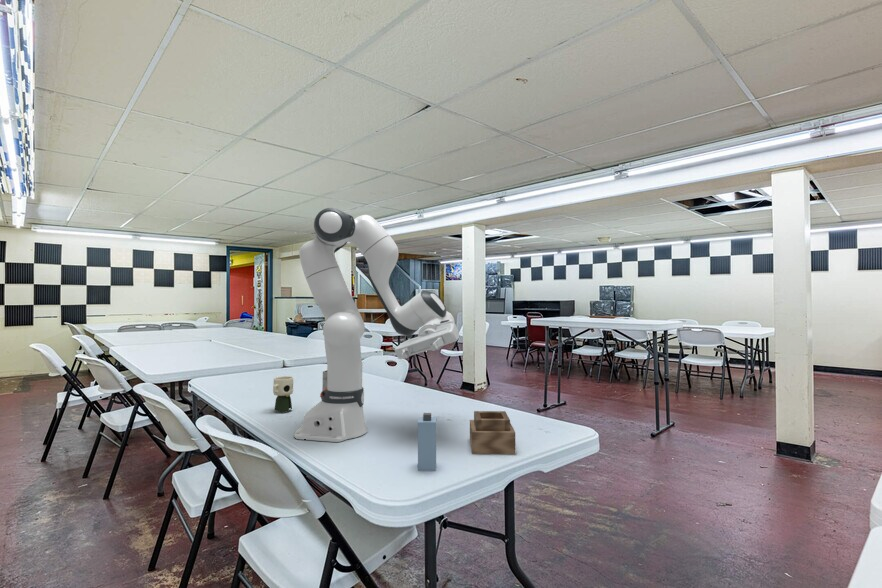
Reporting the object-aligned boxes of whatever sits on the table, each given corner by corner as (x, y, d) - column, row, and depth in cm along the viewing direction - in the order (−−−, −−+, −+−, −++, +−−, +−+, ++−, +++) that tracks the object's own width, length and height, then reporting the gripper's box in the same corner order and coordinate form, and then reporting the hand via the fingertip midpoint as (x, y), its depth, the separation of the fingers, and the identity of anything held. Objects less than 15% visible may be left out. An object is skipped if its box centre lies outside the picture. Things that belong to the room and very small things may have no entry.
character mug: (281, 416, 152) (281, 380, 152) (265, 414, 154) (265, 379, 154) (300, 408, 162) (300, 375, 162) (284, 407, 164) (285, 374, 165)
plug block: (417, 470, 103) (417, 416, 103) (419, 463, 107) (419, 411, 108) (435, 470, 103) (435, 416, 103) (436, 463, 107) (436, 411, 108)
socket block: (472, 454, 114) (472, 421, 114) (469, 439, 126) (469, 410, 126) (515, 454, 114) (515, 421, 114) (508, 439, 126) (508, 410, 126)
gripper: (400, 336, 134) (384, 351, 121) (457, 317, 127) (445, 331, 114) (408, 353, 135) (392, 370, 122) (464, 335, 128) (454, 352, 115)
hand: (418, 351), depth 118 cm, fingers open, 8 cm apart
